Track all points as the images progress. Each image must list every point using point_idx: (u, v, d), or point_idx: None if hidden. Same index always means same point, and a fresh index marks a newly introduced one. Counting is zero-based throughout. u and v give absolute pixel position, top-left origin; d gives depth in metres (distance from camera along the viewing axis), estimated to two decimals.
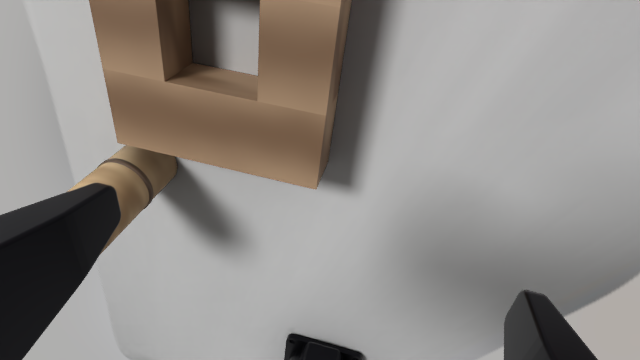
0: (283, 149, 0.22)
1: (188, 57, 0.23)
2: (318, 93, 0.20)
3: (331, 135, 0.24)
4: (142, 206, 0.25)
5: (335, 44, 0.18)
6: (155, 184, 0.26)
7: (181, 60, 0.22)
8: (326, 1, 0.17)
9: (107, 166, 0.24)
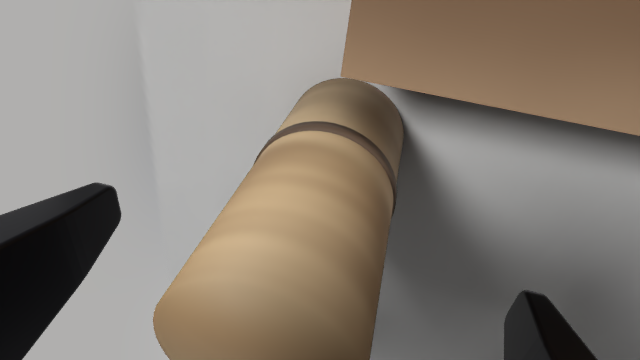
0: None
1: None
2: None
3: None
4: None
5: None
6: (395, 188, 0.11)
7: None
8: None
9: (309, 140, 0.09)
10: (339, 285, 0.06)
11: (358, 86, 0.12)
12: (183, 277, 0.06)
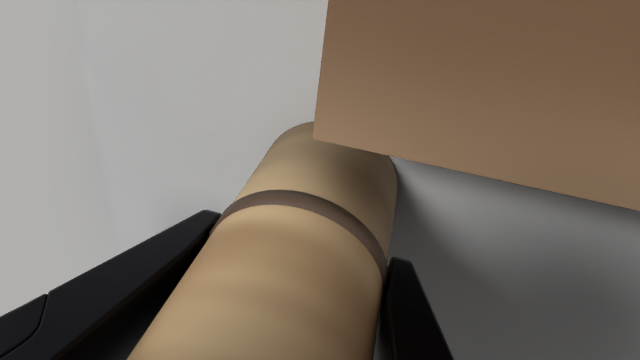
0: None
1: None
2: None
3: None
4: None
5: None
6: None
7: None
8: None
9: (272, 221, 0.07)
10: None
11: None
12: None
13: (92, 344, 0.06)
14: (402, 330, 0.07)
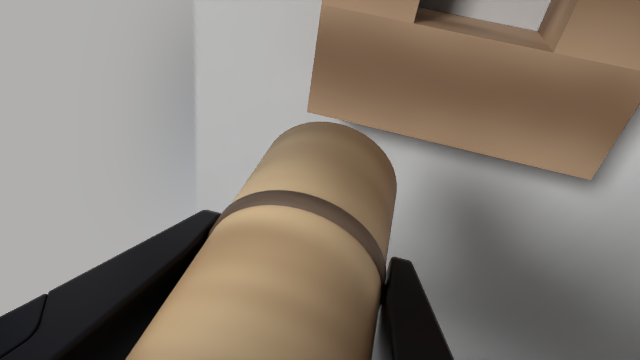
0: (564, 123, 0.16)
1: None
2: None
3: None
4: None
5: None
6: None
7: None
8: None
9: (271, 221, 0.07)
10: None
11: (341, 133, 0.10)
12: None
13: (92, 344, 0.06)
14: (402, 330, 0.07)
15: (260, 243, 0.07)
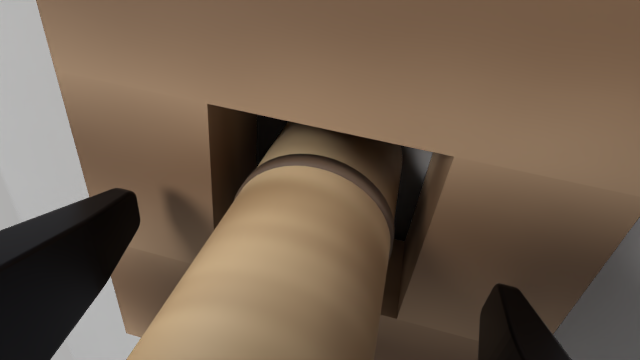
0: None
1: None
2: None
3: None
4: None
5: (604, 256, 0.08)
6: (393, 226, 0.10)
7: None
8: (621, 185, 0.07)
9: (294, 178, 0.08)
10: None
11: None
12: None
13: None
14: None
15: (287, 194, 0.08)
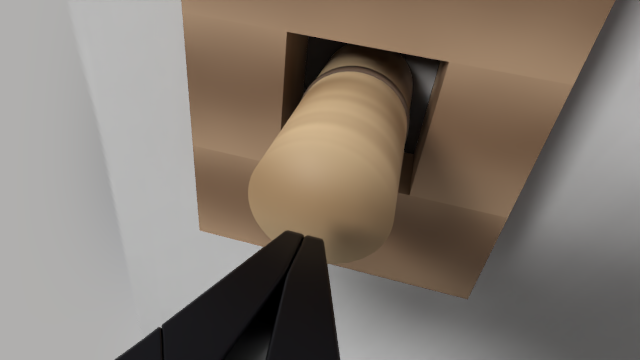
0: (433, 252, 0.16)
1: None
2: (505, 191, 0.14)
3: None
4: None
5: (548, 131, 0.13)
6: None
7: None
8: (553, 76, 0.12)
9: (346, 76, 0.12)
10: (376, 153, 0.10)
11: None
12: (274, 148, 0.10)
13: None
14: (291, 300, 0.07)
15: (343, 83, 0.12)
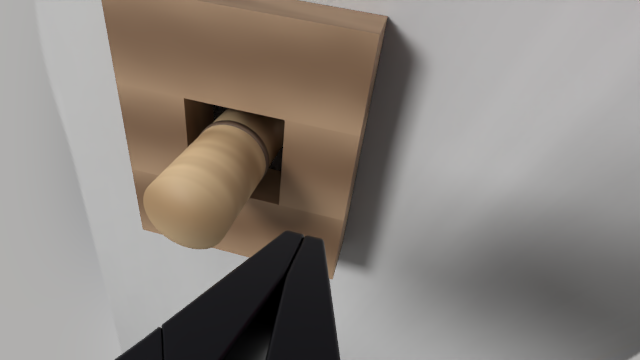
0: None
1: None
2: (337, 202, 0.21)
3: None
4: (259, 181, 0.20)
5: (354, 164, 0.20)
6: (270, 155, 0.21)
7: None
8: (347, 130, 0.19)
9: (219, 129, 0.19)
10: (214, 183, 0.16)
11: None
12: None
13: None
14: (291, 300, 0.07)
15: (214, 134, 0.19)
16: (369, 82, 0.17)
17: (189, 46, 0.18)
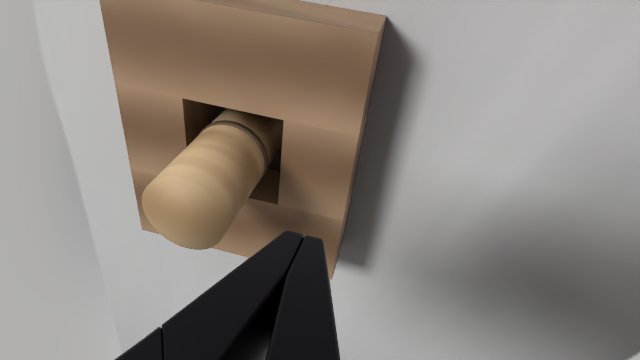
0: None
1: None
2: (336, 202, 0.21)
3: (345, 223, 0.25)
4: (257, 181, 0.20)
5: (353, 164, 0.20)
6: (269, 155, 0.21)
7: None
8: (346, 130, 0.18)
9: (218, 129, 0.19)
10: (213, 183, 0.16)
11: None
12: (153, 180, 0.16)
13: None
14: (291, 300, 0.07)
15: (213, 134, 0.19)
16: (368, 82, 0.17)
17: (187, 46, 0.18)
